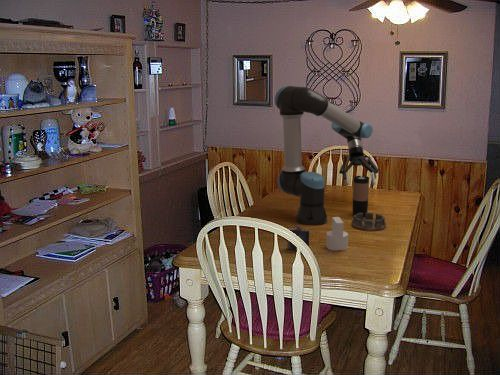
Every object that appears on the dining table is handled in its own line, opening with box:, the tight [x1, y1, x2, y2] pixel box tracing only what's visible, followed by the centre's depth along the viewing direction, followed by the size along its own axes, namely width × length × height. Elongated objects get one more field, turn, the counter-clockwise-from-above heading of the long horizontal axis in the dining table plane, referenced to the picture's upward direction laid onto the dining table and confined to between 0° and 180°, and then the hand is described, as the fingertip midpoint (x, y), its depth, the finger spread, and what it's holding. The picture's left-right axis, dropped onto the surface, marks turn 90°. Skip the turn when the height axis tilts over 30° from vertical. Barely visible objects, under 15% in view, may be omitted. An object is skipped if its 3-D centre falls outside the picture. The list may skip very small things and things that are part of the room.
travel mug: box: [352, 175, 370, 218], centre depth 276 cm, size 8×8×20 cm
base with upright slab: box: [325, 216, 349, 251], centre depth 232 cm, size 9×9×12 cm
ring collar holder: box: [351, 212, 387, 232], centre depth 262 cm, size 16×16×4 cm
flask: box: [286, 224, 310, 251], centre depth 229 cm, size 9×3×11 cm, turn 72°
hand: (360, 184), depth 280 cm, fingers open, 13 cm apart
